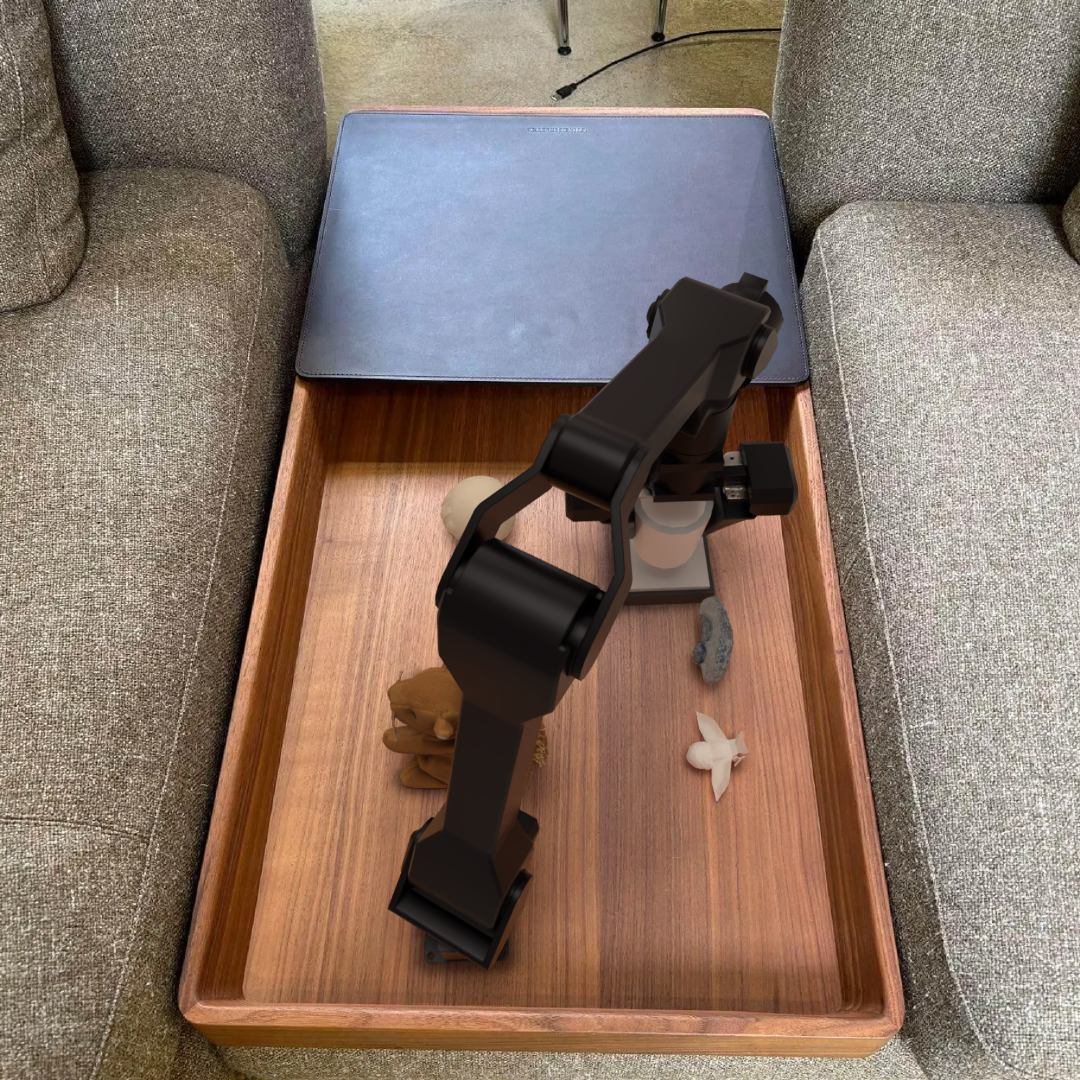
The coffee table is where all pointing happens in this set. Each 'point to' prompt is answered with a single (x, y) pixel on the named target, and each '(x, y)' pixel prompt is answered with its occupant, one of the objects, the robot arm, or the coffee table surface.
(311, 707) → the coffee table surface
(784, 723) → the coffee table surface
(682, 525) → the shot glass
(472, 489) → the beige round ball
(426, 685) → the stuffed squirrel
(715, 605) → the fossil
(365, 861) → the coffee table surface
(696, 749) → the toy bird
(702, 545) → the kitchen scale
